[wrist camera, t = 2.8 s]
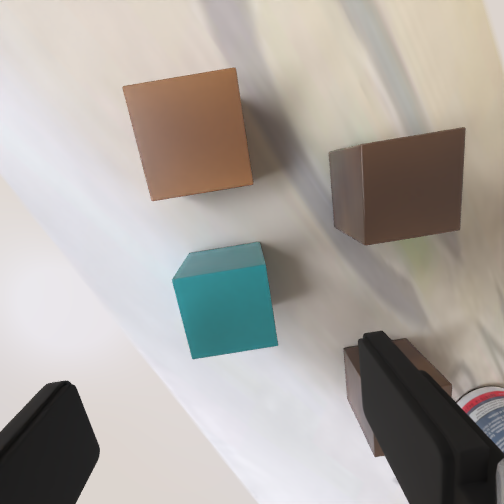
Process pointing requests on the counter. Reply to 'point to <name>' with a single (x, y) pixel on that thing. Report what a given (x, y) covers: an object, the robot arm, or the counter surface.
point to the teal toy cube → (225, 301)
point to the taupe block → (399, 187)
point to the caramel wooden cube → (190, 133)
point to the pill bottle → (487, 411)
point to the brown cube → (355, 384)
